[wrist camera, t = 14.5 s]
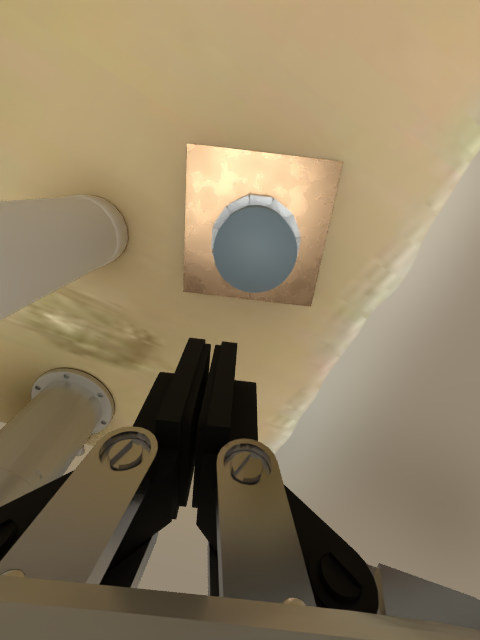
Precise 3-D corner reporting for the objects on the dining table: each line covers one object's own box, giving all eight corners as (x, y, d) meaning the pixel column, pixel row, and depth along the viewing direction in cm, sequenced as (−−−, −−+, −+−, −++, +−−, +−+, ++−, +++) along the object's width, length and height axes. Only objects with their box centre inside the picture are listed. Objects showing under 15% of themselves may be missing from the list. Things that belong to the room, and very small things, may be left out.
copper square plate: (308, 302, 38) (321, 329, 31) (185, 287, 38) (169, 312, 31) (339, 162, 31) (364, 156, 24) (190, 145, 31) (170, 133, 24)
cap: (281, 272, 33) (289, 297, 25) (220, 264, 33) (210, 288, 25) (292, 206, 30) (304, 213, 22) (225, 198, 30) (216, 203, 22)
